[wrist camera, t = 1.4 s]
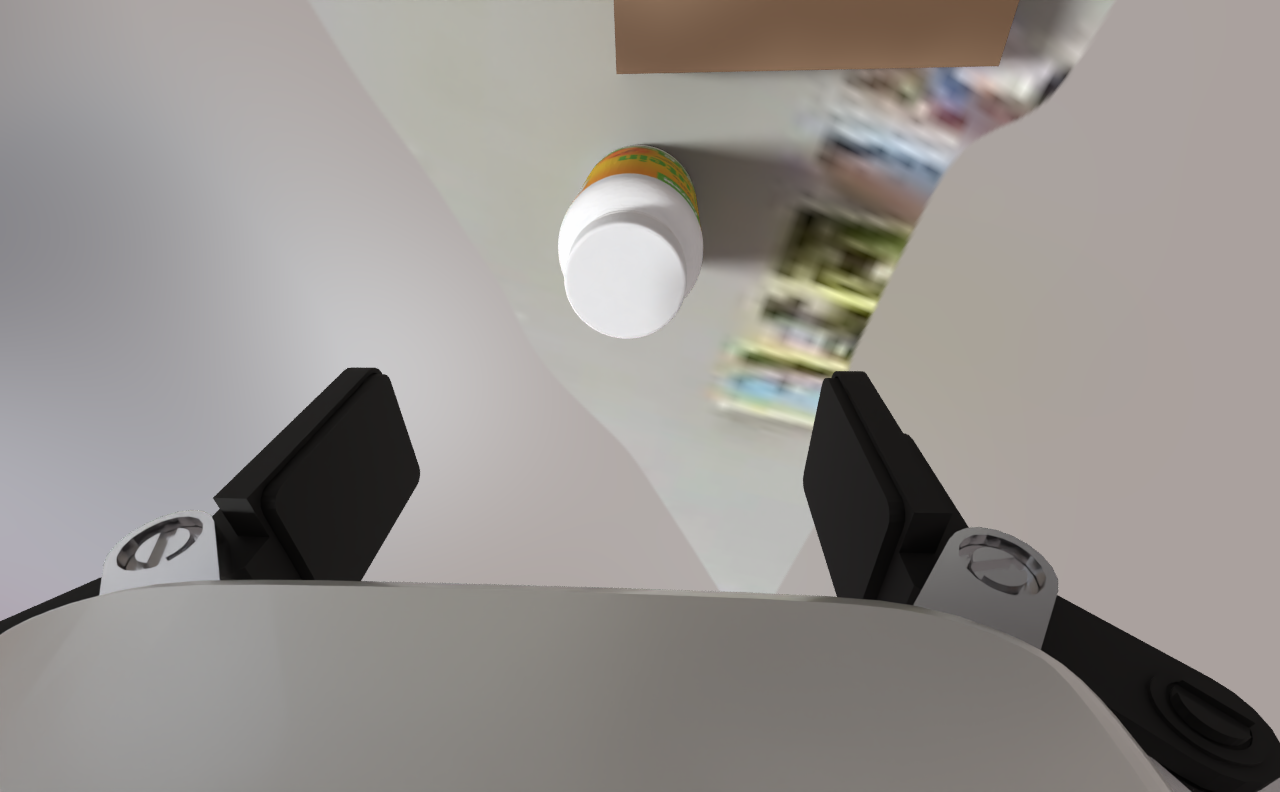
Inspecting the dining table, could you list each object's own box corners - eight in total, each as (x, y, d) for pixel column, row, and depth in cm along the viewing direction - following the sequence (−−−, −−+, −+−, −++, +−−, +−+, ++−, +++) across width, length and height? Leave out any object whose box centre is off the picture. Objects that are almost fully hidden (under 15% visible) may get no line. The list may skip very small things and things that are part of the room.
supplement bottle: (716, 173, 24) (740, 241, 16) (667, 276, 27) (667, 378, 19) (605, 121, 23) (571, 166, 15) (568, 234, 26) (522, 323, 18)
